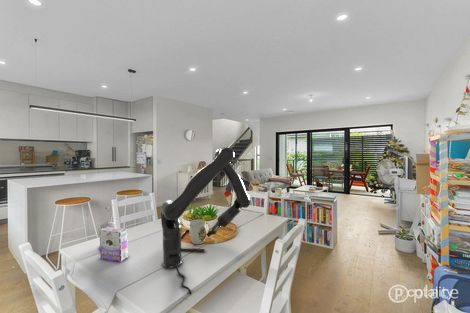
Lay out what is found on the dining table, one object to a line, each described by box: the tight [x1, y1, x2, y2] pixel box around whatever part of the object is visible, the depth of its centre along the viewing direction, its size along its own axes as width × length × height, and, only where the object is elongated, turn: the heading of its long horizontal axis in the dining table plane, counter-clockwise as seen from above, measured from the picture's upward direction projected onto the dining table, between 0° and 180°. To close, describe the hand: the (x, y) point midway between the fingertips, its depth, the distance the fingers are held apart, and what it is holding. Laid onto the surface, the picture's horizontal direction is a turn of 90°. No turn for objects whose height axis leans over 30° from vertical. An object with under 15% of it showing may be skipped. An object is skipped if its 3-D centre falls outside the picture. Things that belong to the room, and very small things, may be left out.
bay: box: [181, 228, 217, 253], centre depth 143 cm, size 22×29×2 cm
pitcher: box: [187, 218, 210, 245], centre depth 141 cm, size 11×18×14 cm, turn 142°
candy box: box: [98, 226, 129, 263], centre depth 121 cm, size 14×6×16 cm, turn 74°
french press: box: [97, 206, 116, 237], centre depth 134 cm, size 10×12×25 cm
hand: (207, 235), depth 141 cm, fingers closed
